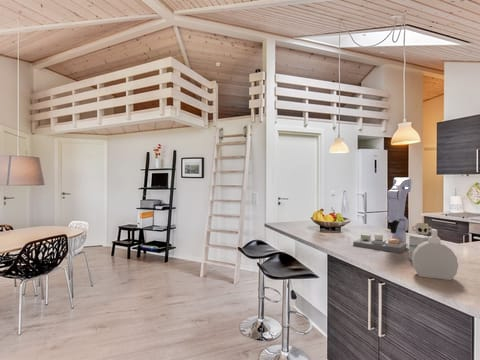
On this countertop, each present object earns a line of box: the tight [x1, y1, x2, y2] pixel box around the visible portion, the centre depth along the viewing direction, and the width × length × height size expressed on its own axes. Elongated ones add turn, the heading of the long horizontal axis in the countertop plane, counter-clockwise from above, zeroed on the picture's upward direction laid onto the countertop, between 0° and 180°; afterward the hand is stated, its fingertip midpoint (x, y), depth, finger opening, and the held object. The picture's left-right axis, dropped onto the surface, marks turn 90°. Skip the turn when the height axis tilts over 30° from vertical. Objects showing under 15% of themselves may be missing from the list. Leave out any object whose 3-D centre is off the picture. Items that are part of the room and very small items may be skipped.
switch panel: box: [352, 238, 407, 254], centre depth 181 cm, size 14×26×4 cm, turn 48°
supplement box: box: [408, 233, 430, 261], centre depth 152 cm, size 7×7×13 cm
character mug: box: [411, 222, 433, 236], centre depth 191 cm, size 11×7×13 cm, turn 69°
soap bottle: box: [411, 228, 459, 281], centre depth 127 cm, size 16×5×20 cm, turn 67°
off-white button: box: [374, 233, 384, 240], centre depth 181 cm, size 4×4×3 cm
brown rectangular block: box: [387, 237, 402, 244], centre depth 175 cm, size 10×5×3 cm, turn 138°
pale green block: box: [360, 233, 372, 240], centre depth 190 cm, size 3×5×3 cm, turn 48°
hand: (393, 233), depth 177 cm, fingers closed
